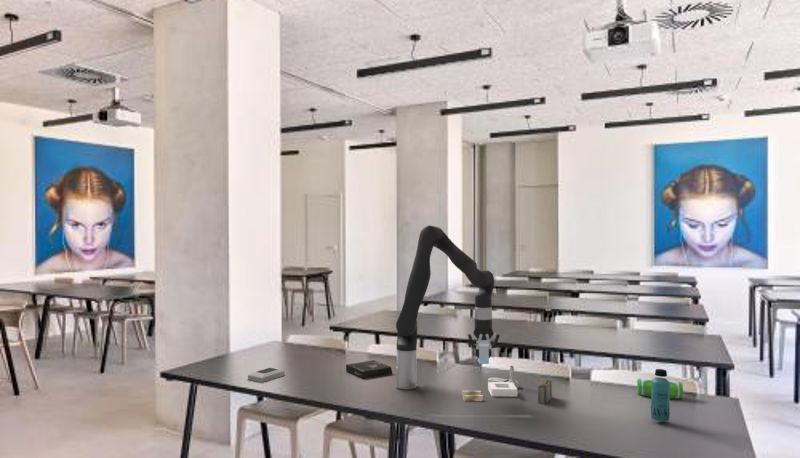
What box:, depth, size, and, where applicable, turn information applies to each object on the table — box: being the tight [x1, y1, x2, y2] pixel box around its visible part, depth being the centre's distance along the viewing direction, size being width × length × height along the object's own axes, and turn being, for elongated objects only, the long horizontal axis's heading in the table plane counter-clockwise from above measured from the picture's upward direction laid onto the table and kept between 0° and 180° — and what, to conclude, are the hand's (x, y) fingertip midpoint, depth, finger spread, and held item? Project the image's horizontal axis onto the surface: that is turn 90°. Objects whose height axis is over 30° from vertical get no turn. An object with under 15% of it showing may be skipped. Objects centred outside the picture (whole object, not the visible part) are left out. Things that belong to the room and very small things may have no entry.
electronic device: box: [487, 365, 519, 389], centre depth 260 cm, size 5×10×15 cm
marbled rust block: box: [537, 379, 553, 405], centre depth 238 cm, size 11×3×10 cm, turn 150°
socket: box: [487, 381, 518, 398], centre depth 245 cm, size 11×11×4 cm
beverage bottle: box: [650, 368, 671, 422], centre depth 211 cm, size 6×7×20 cm
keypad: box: [247, 366, 286, 384], centre depth 272 cm, size 10×4×15 cm
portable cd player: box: [345, 359, 393, 380], centre depth 282 cm, size 16×17×4 cm
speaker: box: [636, 377, 684, 399], centre depth 244 cm, size 18×7×8 cm, turn 71°
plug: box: [477, 340, 490, 365], centre depth 240 cm, size 4×4×10 cm
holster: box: [461, 390, 484, 402], centre depth 238 cm, size 8×8×3 cm
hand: (483, 357), depth 240 cm, fingers closed on plug, 4 cm apart
